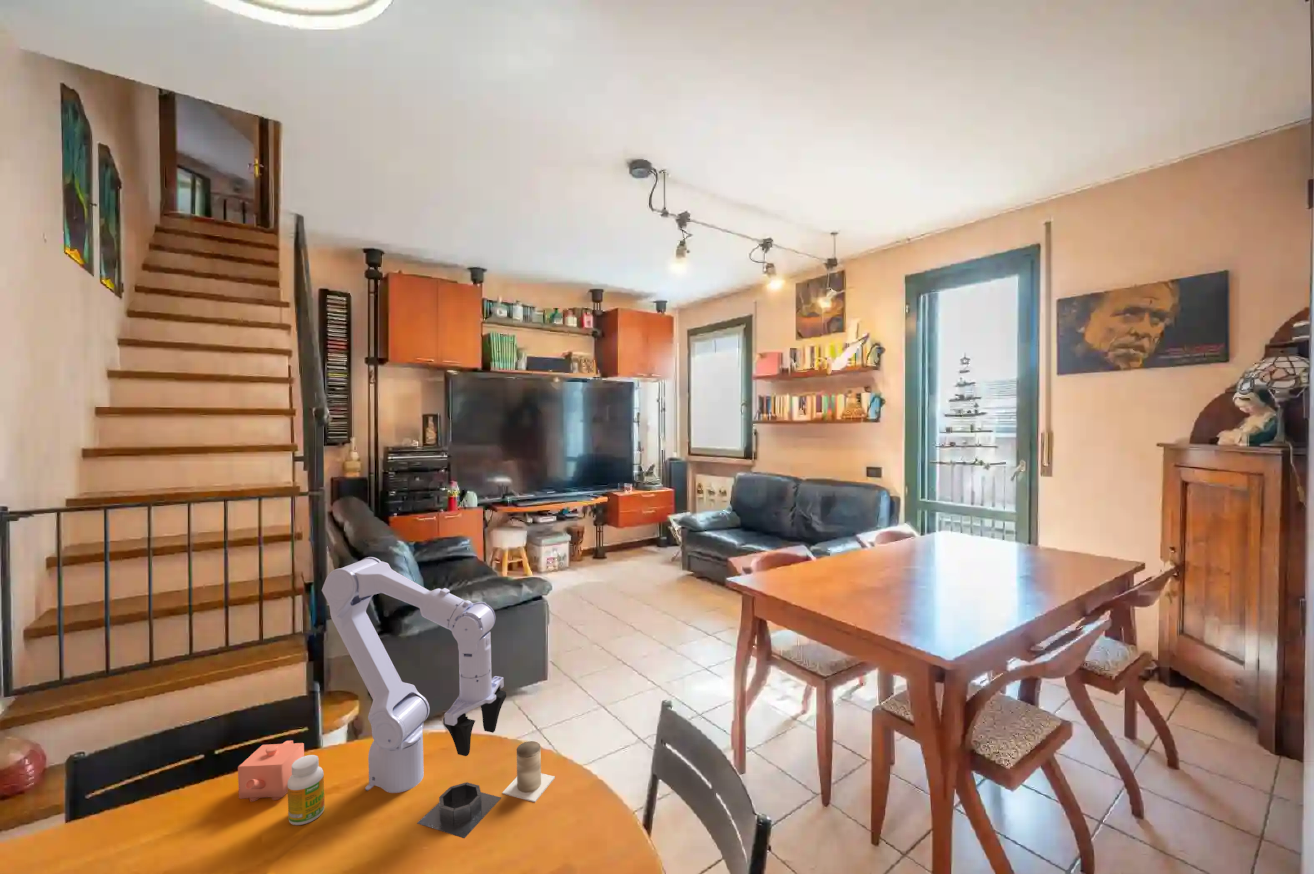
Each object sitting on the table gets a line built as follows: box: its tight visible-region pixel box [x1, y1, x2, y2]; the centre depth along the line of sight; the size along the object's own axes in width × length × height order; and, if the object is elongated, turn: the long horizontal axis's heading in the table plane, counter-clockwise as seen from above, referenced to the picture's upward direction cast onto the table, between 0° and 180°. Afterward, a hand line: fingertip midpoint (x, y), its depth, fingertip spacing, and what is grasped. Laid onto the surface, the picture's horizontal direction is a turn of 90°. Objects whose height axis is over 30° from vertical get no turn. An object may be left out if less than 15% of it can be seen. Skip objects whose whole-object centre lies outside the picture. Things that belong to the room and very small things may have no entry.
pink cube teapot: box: [237, 740, 305, 802], centre depth 101 cm, size 8×12×8 cm, turn 4°
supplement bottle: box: [287, 754, 325, 826], centre depth 95 cm, size 5×5×10 cm
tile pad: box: [501, 772, 556, 803], centre depth 101 cm, size 7×7×1 cm
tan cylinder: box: [516, 740, 542, 793], centre depth 101 cm, size 4×4×7 cm
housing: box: [416, 781, 502, 839], centre depth 95 cm, size 10×10×3 cm
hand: (476, 742), depth 101 cm, fingers open, 7 cm apart
